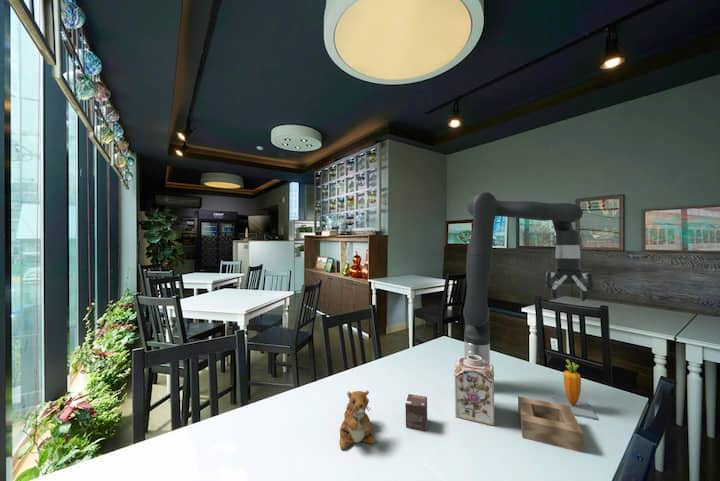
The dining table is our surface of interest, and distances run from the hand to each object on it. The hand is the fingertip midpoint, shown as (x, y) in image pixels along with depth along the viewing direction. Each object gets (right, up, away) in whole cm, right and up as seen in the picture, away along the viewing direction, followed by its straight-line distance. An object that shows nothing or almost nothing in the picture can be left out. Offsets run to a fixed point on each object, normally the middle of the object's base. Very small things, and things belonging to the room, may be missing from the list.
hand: (568, 300), depth 107 cm
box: (-61, -34, -19) cm, 73 cm away
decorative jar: (-41, -34, -14) cm, 55 cm away
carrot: (-7, -34, -12) cm, 36 cm away
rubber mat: (-7, -34, -12) cm, 37 cm away
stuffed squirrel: (-80, -35, -24) cm, 91 cm away
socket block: (-23, -34, -23) cm, 47 cm away
